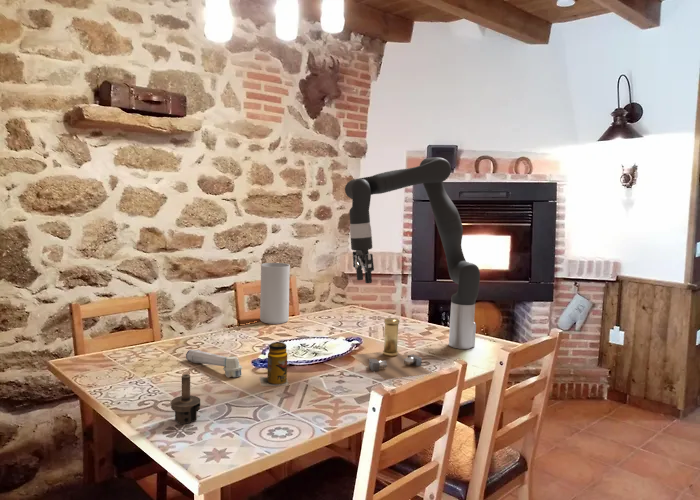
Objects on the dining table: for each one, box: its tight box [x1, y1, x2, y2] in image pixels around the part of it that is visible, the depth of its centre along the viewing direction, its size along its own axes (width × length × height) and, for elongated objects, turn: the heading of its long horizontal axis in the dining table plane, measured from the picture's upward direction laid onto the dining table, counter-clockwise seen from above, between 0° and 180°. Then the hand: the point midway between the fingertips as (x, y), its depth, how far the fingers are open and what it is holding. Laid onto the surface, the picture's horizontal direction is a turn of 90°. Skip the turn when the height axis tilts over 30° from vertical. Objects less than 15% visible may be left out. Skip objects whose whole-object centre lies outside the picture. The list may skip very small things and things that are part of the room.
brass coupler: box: [382, 317, 400, 357], centre depth 202 cm, size 5×5×13 cm
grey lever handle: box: [185, 349, 243, 378], centre depth 183 cm, size 5×7×25 cm
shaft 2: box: [404, 354, 423, 367], centre depth 192 cm, size 5×4×3 cm
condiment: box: [259, 341, 290, 387], centre depth 173 cm, size 7×8×12 cm
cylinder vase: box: [259, 262, 291, 325], centre depth 246 cm, size 12×12×25 cm
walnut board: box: [350, 351, 433, 380], centre depth 193 cm, size 18×26×1 cm
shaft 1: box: [368, 359, 387, 373], centre depth 187 cm, size 5×4×3 cm
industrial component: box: [170, 373, 201, 425], centre depth 143 cm, size 9×7×12 cm
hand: (364, 281), depth 199 cm, fingers open, 8 cm apart
